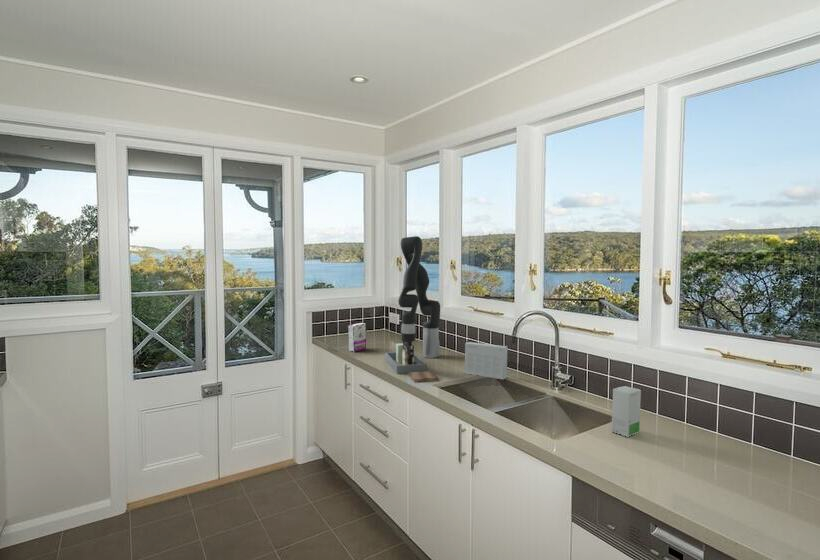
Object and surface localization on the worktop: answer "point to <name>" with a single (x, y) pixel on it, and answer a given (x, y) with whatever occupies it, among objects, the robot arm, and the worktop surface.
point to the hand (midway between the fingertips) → (408, 362)
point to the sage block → (399, 352)
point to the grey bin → (416, 367)
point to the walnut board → (423, 376)
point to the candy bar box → (357, 337)
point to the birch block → (406, 358)
